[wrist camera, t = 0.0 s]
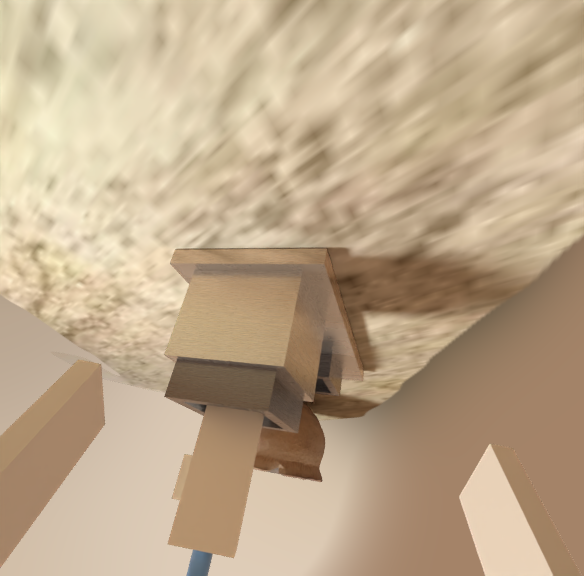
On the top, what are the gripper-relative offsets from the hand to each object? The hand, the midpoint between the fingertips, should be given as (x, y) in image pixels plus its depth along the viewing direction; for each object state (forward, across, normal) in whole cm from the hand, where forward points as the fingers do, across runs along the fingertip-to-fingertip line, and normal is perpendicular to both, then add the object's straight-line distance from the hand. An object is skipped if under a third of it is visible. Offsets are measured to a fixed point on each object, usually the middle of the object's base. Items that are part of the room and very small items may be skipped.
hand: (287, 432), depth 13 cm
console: (+28, 0, -13) cm, 31 cm away
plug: (+16, -4, -12) cm, 20 cm away
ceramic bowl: (+53, +1, -46) cm, 70 cm away
